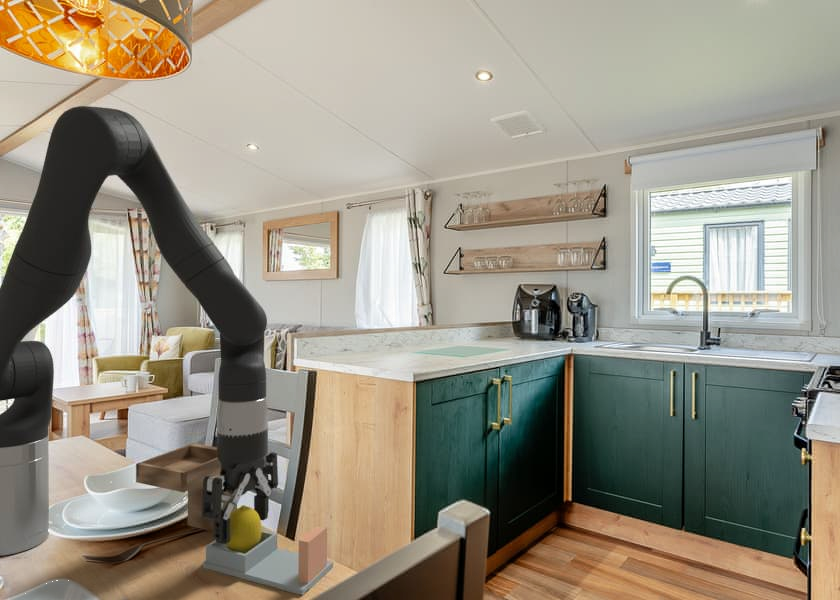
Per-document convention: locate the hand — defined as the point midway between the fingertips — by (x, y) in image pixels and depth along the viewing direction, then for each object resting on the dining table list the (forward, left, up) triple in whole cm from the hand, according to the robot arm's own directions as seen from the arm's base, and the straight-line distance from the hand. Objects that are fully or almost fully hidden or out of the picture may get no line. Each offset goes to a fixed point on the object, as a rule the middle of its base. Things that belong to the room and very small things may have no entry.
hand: (242, 529), depth 81 cm
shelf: (-12, 0, -5) cm, 13 cm away
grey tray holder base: (+5, 0, -5) cm, 7 cm away
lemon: (0, 0, -5) cm, 5 cm away
